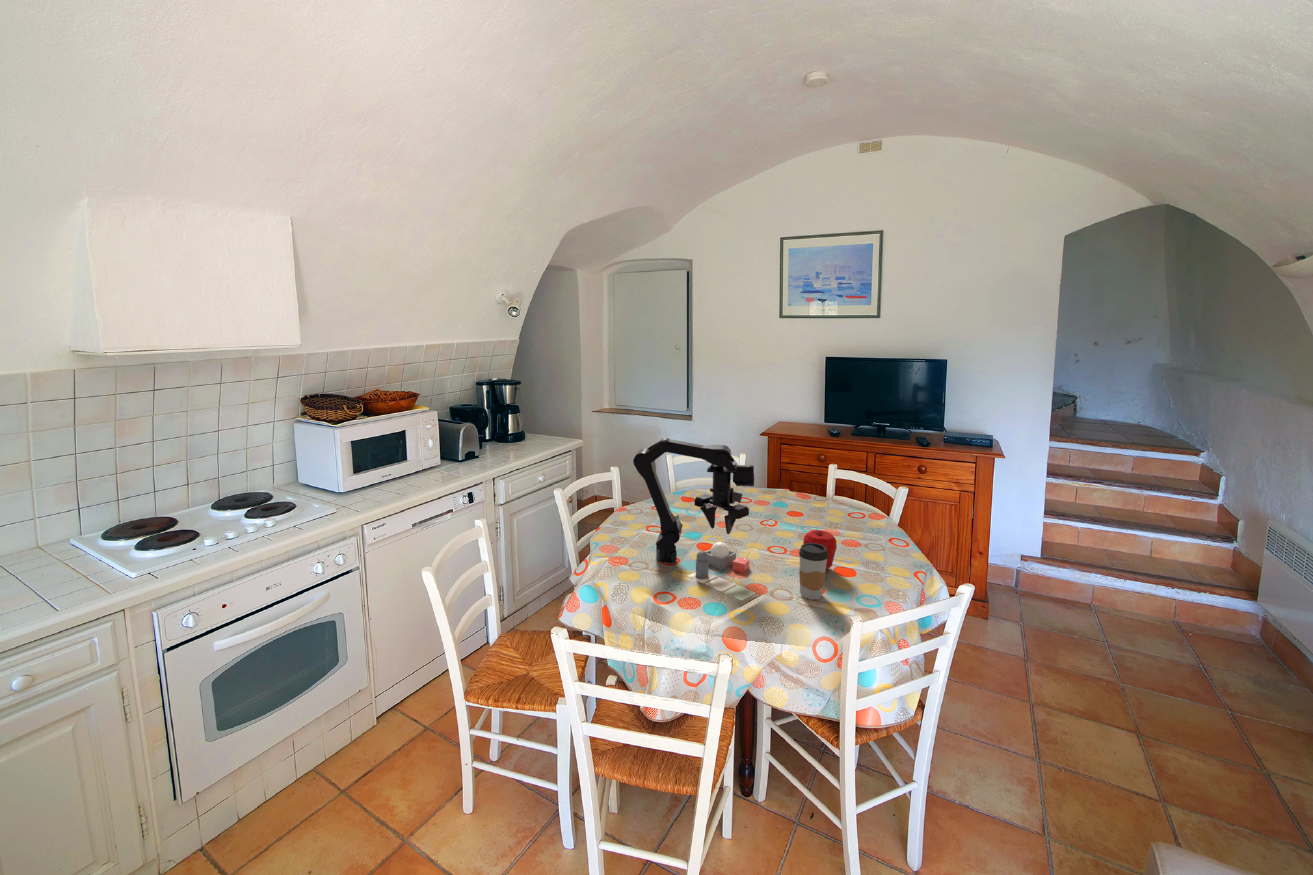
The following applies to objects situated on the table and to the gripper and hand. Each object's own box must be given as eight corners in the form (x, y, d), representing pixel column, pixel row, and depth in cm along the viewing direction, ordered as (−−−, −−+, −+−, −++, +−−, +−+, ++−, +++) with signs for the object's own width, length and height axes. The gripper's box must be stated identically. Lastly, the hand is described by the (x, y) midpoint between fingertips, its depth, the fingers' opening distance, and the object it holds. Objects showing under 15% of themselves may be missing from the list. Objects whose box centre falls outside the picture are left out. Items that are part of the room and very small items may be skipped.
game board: (681, 580, 188) (681, 576, 188) (703, 570, 195) (703, 567, 194) (739, 607, 172) (739, 603, 172) (761, 595, 179) (761, 591, 178)
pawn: (692, 576, 188) (693, 551, 186) (701, 572, 191) (702, 547, 189) (702, 580, 185) (702, 555, 184) (711, 576, 188) (711, 551, 186)
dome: (706, 559, 198) (707, 542, 197) (718, 554, 202) (719, 537, 201) (720, 565, 194) (721, 547, 193) (732, 559, 198) (733, 542, 197)
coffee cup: (820, 588, 183) (823, 541, 180) (829, 601, 175) (832, 553, 172) (793, 588, 183) (795, 542, 179) (800, 601, 175) (803, 553, 171)
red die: (732, 573, 193) (732, 560, 192) (737, 568, 196) (737, 555, 195) (744, 575, 191) (744, 563, 190) (748, 571, 194) (749, 558, 193)
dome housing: (702, 565, 199) (703, 552, 198) (718, 558, 204) (718, 545, 203) (721, 572, 193) (721, 559, 192) (736, 565, 199) (736, 552, 198)
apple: (835, 577, 190) (838, 537, 187) (802, 574, 192) (804, 534, 189) (833, 563, 200) (835, 525, 197) (801, 561, 202) (803, 522, 199)
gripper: (760, 486, 191) (758, 532, 195) (716, 474, 205) (715, 517, 208) (738, 493, 184) (737, 541, 187) (693, 480, 197) (693, 525, 201)
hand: (720, 531), depth 196 cm, fingers open, 6 cm apart
